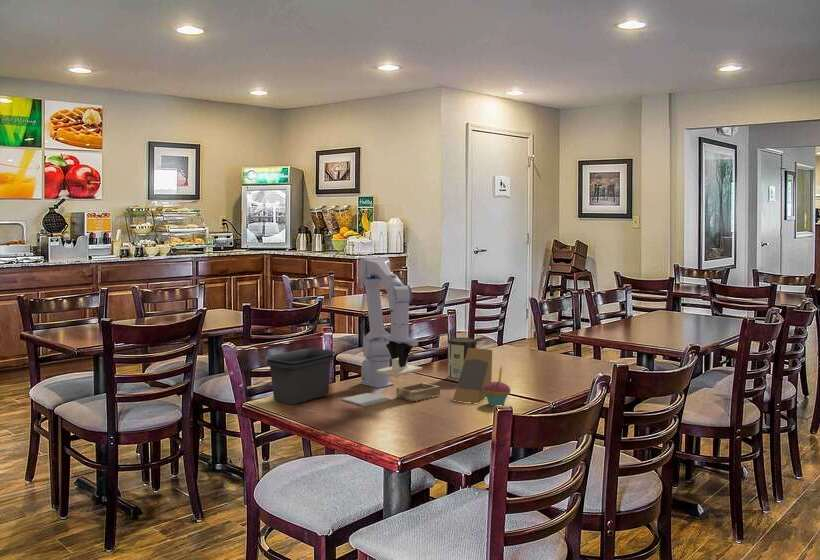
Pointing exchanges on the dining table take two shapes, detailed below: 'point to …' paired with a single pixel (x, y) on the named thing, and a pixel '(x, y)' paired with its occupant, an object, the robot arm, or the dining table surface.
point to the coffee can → (458, 355)
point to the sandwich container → (474, 375)
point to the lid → (398, 369)
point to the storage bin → (300, 374)
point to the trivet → (366, 399)
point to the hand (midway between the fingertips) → (399, 365)
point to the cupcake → (496, 391)
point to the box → (418, 391)
